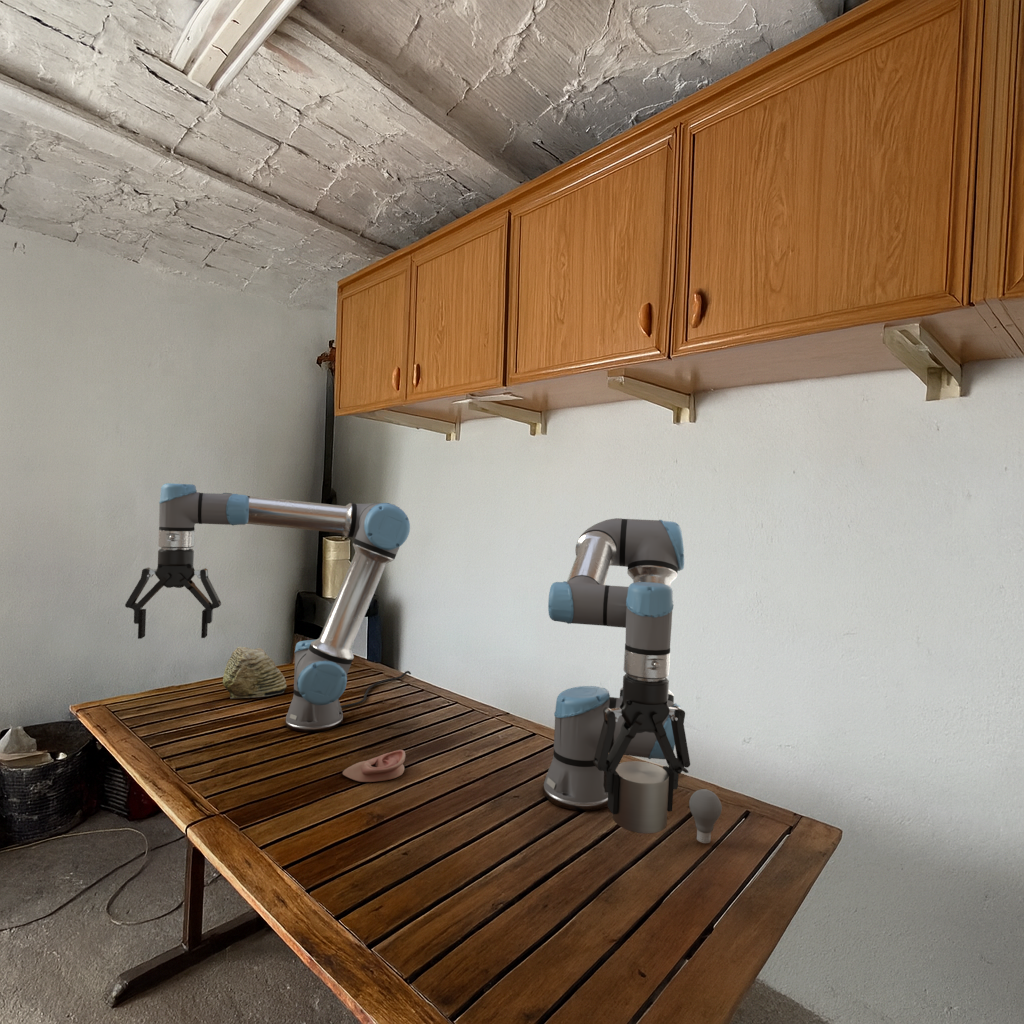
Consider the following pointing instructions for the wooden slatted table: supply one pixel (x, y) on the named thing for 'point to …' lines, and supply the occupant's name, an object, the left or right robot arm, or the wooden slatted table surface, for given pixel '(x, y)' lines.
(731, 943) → the wooden slatted table surface
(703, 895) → the wooden slatted table surface
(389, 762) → the anatomical model
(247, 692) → the fossil
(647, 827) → the can
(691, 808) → the light bulb
